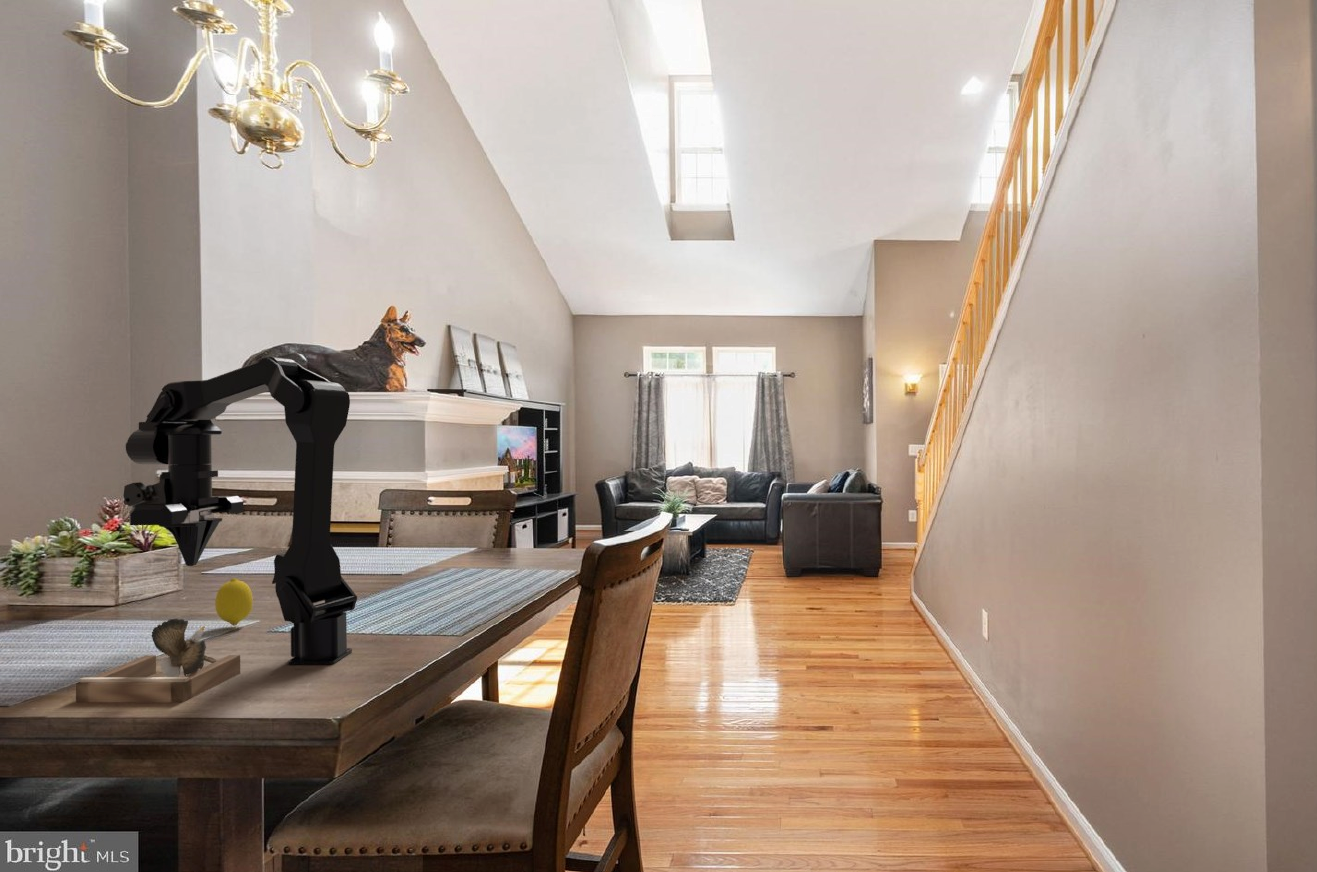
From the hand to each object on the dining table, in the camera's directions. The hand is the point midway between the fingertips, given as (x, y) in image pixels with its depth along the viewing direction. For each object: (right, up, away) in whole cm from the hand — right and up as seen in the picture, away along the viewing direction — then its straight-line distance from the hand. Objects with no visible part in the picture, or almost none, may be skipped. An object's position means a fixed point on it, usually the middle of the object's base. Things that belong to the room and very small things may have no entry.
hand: (191, 565), depth 115 cm
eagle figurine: (+10, -9, -15) cm, 20 cm away
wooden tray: (+10, -12, -20) cm, 25 cm away
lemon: (0, -12, +11) cm, 16 cm away
